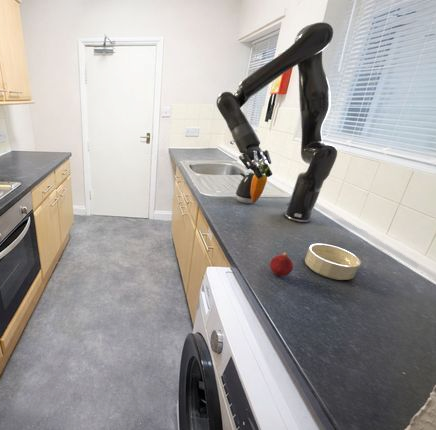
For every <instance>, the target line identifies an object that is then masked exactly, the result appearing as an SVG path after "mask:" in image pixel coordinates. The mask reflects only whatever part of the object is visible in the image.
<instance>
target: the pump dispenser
mask: <svg viewBox="0 0 436 430" xmlns="http://www.w3.org/2000/svg"><path fill="white" fill-rule="evenodd" d="M239 175H240V176H241V177H243V178H241V180H240V182H239V184H238V186H237V188H236V190H235V196H236V200H237V201H238V202H240V203H242V204H252V203H253V202H252V199H251V183H252V179H253V176H254V175H255V174H254V172H248V173H247V174H245V173H243V172H240V173H239Z"/></svg>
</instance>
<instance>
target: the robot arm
mask: <svg viewBox="0 0 436 430" xmlns="http://www.w3.org/2000/svg"><path fill="white" fill-rule="evenodd" d="M333 36H334V27H332V25H331V24H330V23H327V22H323V21H321V22H320V21H319V22H314V23H311V24H308V25H306V26H304V27H303V28H302V29H300V30H299V32H298V33H297V34H296V36H295V39H294V41H293V43H292V45H290V46H289V47H288V48H287V49H285V50H284V51H283V52H282V53H280V54H278V55H277V56H276V57H275V58H273V59H272V60H270V61H269V62H267V63H265V64H264V65H262V66H260V67H259V68H257V69H256V70H255V71H254V72H252V73H250V75H248V76H247V77H245V79H243V80H242V81H240V83H239V84H238V87H237V90H236V91H234V93H233V92H230V91H223V92H221V93H220V94H219V95H217V98H216V101H215V103H216V107H217V109H218V111H219V113H220V115H221V116H222V118H223V119H224V121H225V123H226V126H227V128H228V130H229V133H230V134H231V136H232V140H233V141H234V143H235V145H236V148H237V149H238V151H239V153H240V155H239V156H238V158H239V160H240V161H241V163H242V165H244V167H245V168H246V169H247V170H251V171H252V173H254V174H255V176H256V177H257V179H259V178H261V177H263V175H266V177H267V178H269V177H271V176H273V172H272V170H271V168H269V169H268V170H267V171H266V172H265V173H264V174H262V172H261V170H260V168H259V167H258V165H260V166H263V171H264V170H265V169H266V168H267V167H270V165H271V164H272V159H271V157H270V153H269V150H267V149H266V150H262V148H260V145H261V140H260V138H259V137H258V135H257V133H256V131H255V129H254V128H253V126H252V125H251V123H250V122H249V120H248V117H247V116H246V114H245V113H244V112H243V111H242V109H241V108H242V107H243V106H244V105H245V104H246V103H247V102H248V101H249V100H250V99H251V98H252V97H254V96H255V95H257V94H258V93H259V92H260V91H262V90H263V89H264V88H266V87H268V85H270V84H271V83H273V82H274V81H275V80H277V79H278V78H279V77H281V76H282V75H283V74H285V73H286V72H288V71H289V70H291V69H292V68H294V67H296V66H297V70H298V99H299V113H300V127H301V143H300V146H301V147H300V156H301V160H302V161H303V162H304V163H305V164H308V165H309V166H308V168H307V170H306V171H303V172H299V174H298V175H297V178H296V181H295V183H294V187H293V190H292V193H291V196H290V199H289V201H288V205H287V208H286V211H285V213H284V217H285V218H286V219H288V220H290V221H292V222H297V223H309V222H310V220H311V217H312V214H313V211H314V208H315V206H316V203H317V201H318V198H319V196H320V193H321V190H322V189H323V185H324V182H325V181H326V179H327V178H328V177H329V176H330V174H331V172H332V169H333V167H334V165H335V163H336V160H337V157H338V149H337V147H336V146H334V145H332V144H329V143H325V142H323V141H324V140H323V134H322V133H323V132H322V130H323V125H324V122H325V120H326V119H327V117H328V114H329V112H330V110H331V88H330V84H329V80H328V78H327V75H326V72H325V69H324V65H323V51H324V50H325V49H326V48H327V47H328V46H329V45H330V43H331V42H332V40H333V38H334V37H333Z"/></svg>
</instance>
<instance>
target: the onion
mask: <svg viewBox="0 0 436 430" xmlns="http://www.w3.org/2000/svg"><path fill="white" fill-rule="evenodd" d="M269 268H270V271H271V272H272V273H273V274H274V275H276V276H277V277H284V276H288V275H289V274H290V273H292V271H293V268H294V264H293V261H292V260H291V258H290V257H289V256H288V253H287V252H283V253H282V254H278V255H276V256H274V257H272V258H271V259H270V262H269Z"/></svg>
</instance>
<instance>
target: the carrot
mask: <svg viewBox="0 0 436 430" xmlns="http://www.w3.org/2000/svg"><path fill="white" fill-rule="evenodd" d="M258 167H259V168H260V170H261V172H262V174H263V177H261V178H259V179H257V177H256V176H255V175H254V176H253V179H252V183H251V199H252V203H253V204H254V203H256V202H257V201H258V200H259V199H260V197H261V196H262V194H263V192H264V190H265V187H266V185H267V181H268V177H266V175H265V172H266V171H267V170H268V169H269V168H270V166H269V167H267V168H266V169H265V170H264V171H263V166H260V165H259V164H258ZM270 169H271V168H270Z"/></svg>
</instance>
